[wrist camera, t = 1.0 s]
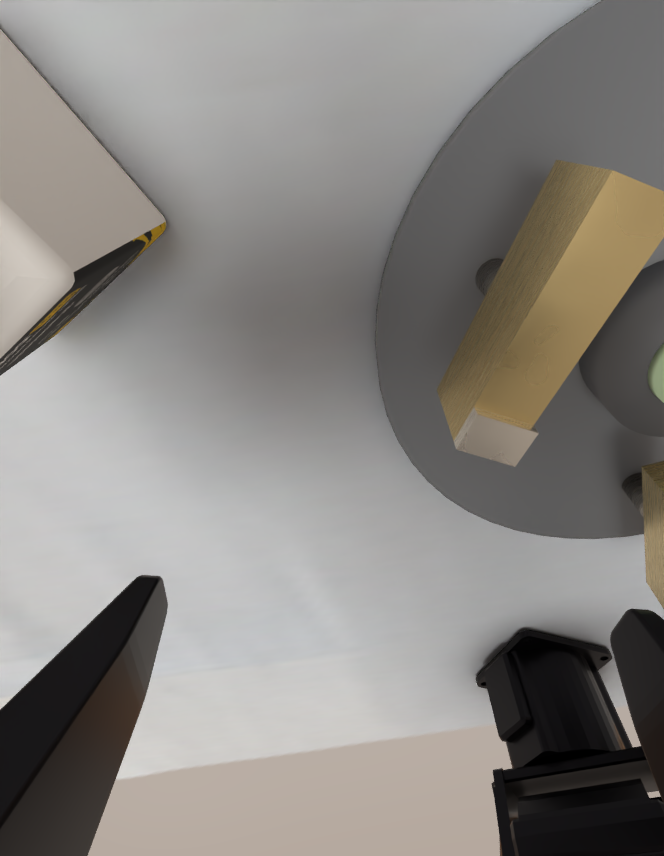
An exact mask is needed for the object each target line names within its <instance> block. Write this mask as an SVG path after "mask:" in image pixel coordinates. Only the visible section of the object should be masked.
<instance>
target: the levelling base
mask: <svg viewBox="0 0 664 856" xmlns="http://www.w3.org/2000/svg"><path fill="white" fill-rule="evenodd" d="M556 160H561V161H566V162H572V163H577V164H582V165H588V166H593V167H599V168H604V169H609V170H614V171H616V172H619V173H621V174H623V175H626V176H628V177H631V178H633V179H635V180H638V181H640V182H643V183H645V184H647V185H650V186H652V187H655V188H657V189H659V190H662V191H664V0H602V1H600V2H599V3H597V4H596V5H594V6H593V7H591V8H590V9H588V10H587V11H585V12H584V13H582V14H581V15H579V16H578V17H576V18H575V19H573V20H572V21H570V22H569V23H567V24H566V25H564V26H563V27H561V28H560V29H558V30H557V31H555V32H554V33H552V34H551V35H550V36H549V37H547V38H546V39H545V40H544V41H543V42H542V43H540V44H539V45H538V46H537V47H536V48H535V49H533V50H532V51H531V52H530V53H529V54H527V55H526V56H525V57H524V58H523V59H522V60H520V61H519V62H518V63H517V64H516V65H514V66H513V67H512V68H511V69H510V70H509V71H507V72H506V73H505V75H504V76H503V77H502V78H501V79H500V80H499V81H498V82H497V83H496V84H495V85H494V86H493V87H492V88H491V89H490V90H489V91H488V93H487V94H486V95H485V96H484V97H483V98H482V99H481V100H480V101H479V102H478V103H477V104H476V105H475V106H474V107H473V108H472V109H471V110H470V112H469V113H468V114H467V115H466V117H465V118H464V119H463V121H462V122H461V123H460V125H459V126H458V127H457V129H456V130H455V131H454V133H453V134H452V135H451V137H450V138H449V139H448V141H447V142H446V143H445V144H444V146H443V147H442V148H441V150H440V151H439V152H438V154H437V156H436V157H435V159H434V161H433V162H432V164H431V166H430V167H429V169H428V171H427V172H426V174H425V176H424V177H423V179H422V181H421V182H420V184H419V186H418V187H417V189H416V191H415V192H414V194H413V196H412V198H411V201H410V203H409V205H408V207H407V210H406V212H405V214H404V216H403V219H402V221H401V223H400V225H399V227H398V230H397V232H396V234H395V237H394V240H393V243H392V247H391V250H390V253H389V256H388V259H387V263H386V266H385V269H384V272H383V277H382V283H381V288H380V294H379V299H378V305H377V315H376V338H375V345H376V355H377V365H378V375H379V383H380V389H381V393H382V397H383V401H384V405H385V409H386V413H387V416H388V418H389V421H390V423H391V426H392V428H393V430H394V433H395V435H396V437H397V440H398V441H399V443H400V445H401V446H402V448H403V449H404V451H405V453H406V454H407V456H408V458H409V459H410V461H411V462H412V464H413V465H414V466H415V467H416V468H417V469H418V470H419V472H420V473H421V474H422V475H423V476H424V477H425V479H426V480H427V481H428V482H429V483H430V484H431V485H433V486H434V487H435V488H436V489H437V490H438V491H440V492H441V493H442V494H443V495H444V496H445V497H447V498H448V499H450V500H451V501H453V502H454V503H456V504H457V505H459V506H460V507H462V508H464V509H465V510H467V511H468V512H471V513H473V514H475V515H477V516H479V517H481V518H483V519H485V520H488V521H490V522H492V523H495V524H498V525H501V526H504V527H507V528H510V529H513V530H517V531H522V532H527V533H531V534H536V535H541V536H550V537H559V538H575V539H600V538H614V537H627V536H633V535H639V534H644V518H643V516H642V515H641V514H640V512H639V511H638V510H637V508H636V507H635V506H634V504H633V503H632V502H631V500H630V499H629V498H628V496H627V495H626V494H625V492H624V491H623V490H622V483H623V481H624V480H625V479H626V478H627V477H629V476H630V475H633V474H636V473H642V470H641V466H644V465H648V464H652V463H656V462H660V461H664V238H663V239H662V241H661V242H660V243H659V245H658V246H657V248H656V249H655V251H654V252H653V254H652V255H651V256H650V258H649V259H648V261H647V262H646V264H645V265H644V267H643V268H642V269H641V271H640V272H639V274H638V275H637V277H636V278H635V280H634V281H633V282H632V284H631V285H630V287H629V288H628V290H627V291H626V293H625V294H624V295H623V297H622V298H621V300H620V301H619V303H618V304H617V306H616V307H615V308H614V310H613V311H612V313H611V314H610V316H609V317H608V319H607V320H606V321H605V323H604V324H603V326H602V327H601V329H600V330H599V332H598V333H597V335H596V336H595V337H594V339H593V340H592V342H591V343H590V345H589V346H588V348H587V349H586V350H585V352H584V353H583V355H582V356H581V358H580V359H579V361H578V362H577V363H576V365H575V366H574V368H573V369H572V371H571V372H570V374H569V375H568V376H567V378H566V379H565V381H564V382H563V384H562V385H561V387H560V388H559V389H558V391H557V392H556V394H555V395H554V397H553V398H552V400H551V401H550V402H549V404H548V405H547V407H546V408H545V410H544V411H543V413H542V414H541V415H540V417H539V418H538V420H537V421H536V423H535V424H534V426H535V428H536V430H537V431H538V433H539V434H538V435H537V437H536V438H535V440H534V441H533V442H532V444H531V445H530V447H529V448H528V449H527V451H526V452H525V454H524V455H523V456H522V458H521V459H520V461H519V462H518V464H517V465H516V466H515V467H514V466H510V465H507V464H504V463H500V462H497V461H493V460H490V459H486V458H483V457H480V456H476V455H473V454H469V453H466V452H463V451H459V450H456V447H455V444H454V441H453V438H452V435H451V432H450V429H449V426H448V422H447V419H446V416H445V413H444V410H443V407H442V404H441V401H440V398H439V395H438V392H437V388H438V386H439V384H440V382H441V380H442V378H443V376H444V374H445V372H446V370H447V368H448V366H449V365H450V363H451V361H452V359H453V357H454V355H455V353H456V351H457V349H458V347H459V345H460V343H461V341H462V340H463V338H464V336H465V334H466V332H467V330H468V328H469V326H470V324H471V322H472V320H473V318H474V316H475V315H476V313H477V311H478V309H479V307H480V305H481V303H482V301H483V299H484V297H485V296H484V295H483V294H482V292H481V291H480V290H479V289H478V287H477V285H476V281H475V277H476V273H477V271H478V269H479V267H480V266H481V265H482V264H483V263H484V262H486V261H488V260H490V259H494V258H500V259H503V260H504V259H505V257H506V255H507V253H508V251H509V249H510V247H511V245H512V243H513V242H514V240H515V238H516V236H517V234H518V232H519V230H520V228H521V226H522V224H523V222H524V220H525V219H526V217H527V215H528V213H529V211H530V209H531V207H532V205H533V203H534V201H535V199H536V197H537V195H538V194H539V192H540V190H541V188H542V186H543V184H544V182H545V180H546V178H547V176H548V174H549V172H550V170H551V169H552V167H553V165H554V163H555V161H556Z"/></svg>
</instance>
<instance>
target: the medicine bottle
mask: <svg viewBox="0 0 664 856" xmlns="http://www.w3.org/2000/svg"><path fill="white" fill-rule="evenodd" d="M165 229H166V220H165V218H164V216H163V215H162V214H161V213H160V212H159V211H158V209H157V208H156V207H155V206H154V205H153V204H152V203H151V201H150V200H149V199H148V198H147V197H146V196H145V195H144V193H143V192H142V191H141V190H140V189H139V188H138V186H137V185H136V184H135V183H134V182H133V181H132V180H131V178H130V177H129V176H128V175H127V174H126V173H125V172H124V170H123V169H122V168H121V167H120V166H119V165H118V163H117V162H116V161H115V160H114V159H113V158H112V157H111V155H110V154H109V153H108V152H107V151H106V150H105V149H104V147H103V146H102V145H101V144H100V143H99V142H98V141H97V139H96V138H95V137H94V136H93V135H92V134H91V132H90V131H89V130H88V129H87V128H86V127H85V126H84V124H83V123H82V122H81V121H80V120H79V119H78V118H77V116H76V115H75V114H74V113H73V112H72V111H71V109H70V108H69V107H68V106H67V105H66V104H65V103H64V101H63V100H62V99H61V98H60V97H59V96H58V95H57V93H56V92H55V91H54V90H53V89H52V88H51V87H50V85H49V84H48V83H47V82H46V81H45V80H44V78H43V77H42V76H41V75H40V74H39V73H38V72H37V70H36V69H35V68H34V67H33V66H32V65H31V64H30V62H29V61H28V60H27V59H26V58H25V57H24V55H23V54H22V53H21V52H20V51H19V50H18V49H17V47H16V46H15V45H14V44H13V43H12V42H11V41H10V39H9V38H8V37H7V36H6V35H5V34H4V33H3V31H2V30H1V29H0V375H2V374H3V373H4V372H6V371H7V370H9V369H10V368H11V367H13V366H14V365H15V364H17V363H18V362H19V361H21V360H22V359H24V358H25V357H26V356H28V355H29V354H30V353H32V352H33V351H35V350H36V349H37V348H39V347H40V346H41V345H43V344H44V343H46V342H47V341H48V340H50V339H51V338H52V337H54V336H55V335H56V334H57V333H59V332H60V331H61V330H62V329H63V328H64V327H65V326H66V325H67V324H68V323H69V322H70V321H71V320H72V319H73V318H74V317H75V316H76V315H77V314H78V313H79V312H81V311H82V310H83V309H84V308H85V307H86V306H87V305H88V304H89V303H90V302H91V301H92V300H93V299H94V298H95V297H96V296H97V295H98V294H99V293H100V292H101V291H103V290H104V289H105V288H106V287H107V286H108V285H109V284H110V283H111V282H112V281H113V280H114V279H115V278H116V277H117V276H118V275H119V274H120V273H121V272H122V271H123V270H125V269H126V268H127V267H128V266H129V265H130V264H131V263H132V262H133V261H134V260H135V259H136V258H137V257H138V256H139V255H140V254H141V253H142V252H143V251H144V250H145V249H147V248H148V247H149V246H150V245H151V244H152V243H153V242H154V241H155V240H156V239H157V238H158V237H159V236H160V235H161V234H162V233H163V232H164V230H165Z"/></svg>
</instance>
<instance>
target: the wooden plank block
mask: <svg viewBox="0 0 664 856" xmlns="http://www.w3.org/2000/svg"><path fill="white" fill-rule="evenodd" d="M663 238H664V191H662V190H659V189H657V188H655V187H652V186H650V185H647V184H645V183H643V182H640V181H638V180H635V179H633V178H631V177H628V176H626V175H623V174H621V173H619V172H616V171H614V170H609V169H604V168H599V167H593V166H588V165H582V164H577V163H572V162H566V161H561V160H556V161H555V163H554V165H553V167H552V169H551V170H550V172H549V174H548V176H547V178H546V180H545V182H544V184H543V186H542V188H541V190H540V192H539V194H538V195H537V197H536V199H535V201H534V203H533V205H532V207H531V209H530V211H529V213H528V215H527V217H526V219H525V220H524V222H523V224H522V226H521V228H520V230H519V232H518V234H517V236H516V238H515V240H514V242H513V243H512V245H511V247H510V249H509V251H508V253H507V255H506V257H505V259H504V260H503V259H500V258H494V259H490V260H488V261H486V262H484V263H483V264H482V265H481V266H480V267H479V269H478V271H477V273H476V277H475V281H476V285H477V287H478V289H479V290H480V291H481V292H482V294H483V295H484V296H485V297H484V299H483V301H482V303H481V305H480V307H479V309H478V311H477V313H476V315H475V316H474V318H473V320H472V322H471V324H470V326H469V328H468V330H467V332H466V334H465V336H464V338H463V340H462V341H461V343H460V345H459V347H458V349H457V351H456V353H455V355H454V357H453V359H452V361H451V363H450V365H449V366H448V368H447V370H446V372H445V374H444V376H443V378H442V380H441V382H440V384H439V386H438V388H437V392H438V395H439V398H440V401H441V404H442V407H443V410H444V413H445V416H446V419H447V422H448V426H449V429H450V432H451V435H452V438H453V441H454V444H455V447H456V450H459V451H463V452H466V453H469V454H473V455H476V456H480V457H483V458H486V459H490V460H493V461H497V462H500V463H504V464H507V465H510V466H514V467H515V466H516V465H517V464H518V462H519V461H520V459H521V458H522V456H523V455H524V454H525V452H526V451H527V449H528V448H529V447H530V445H531V444H532V442H533V441H534V440H535V438H536V437H537V435H538V434H539V433H538V431H537V430H536V428H535V426H534V424H535V423H536V421H537V420H538V418H539V417H540V415H541V414H542V413H543V411H544V410H545V408H546V407H547V405H548V404H549V402H550V401H551V400H552V398H553V397H554V395H555V394H556V392H557V391H558V389H559V388H560V387H561V385H562V384H563V382H564V381H565V379H566V378H567V376H568V375H569V374H570V372H571V371H572V369H573V368H574V366H575V365H576V363H577V362H578V361H579V359H580V358H581V356H582V355H583V353H584V352H585V350H586V349H587V348H588V346H589V345H590V343H591V342H592V340H593V339H594V337H595V336H596V335H597V333H598V332H599V330H600V329H601V327H602V326H603V324H604V323H605V321H606V320H607V319H608V317H609V316H610V314H611V313H612V311H613V310H614V308H615V307H616V306H617V304H618V303H619V301H620V300H621V298H622V297H623V295H624V294H625V293H626V291H627V290H628V288H629V287H630V285H631V284H632V282H633V281H634V280H635V278H636V277H637V275H638V274H639V272H640V271H641V269H642V268H643V267H644V265H645V264H646V262H647V261H648V259H649V258H650V256H651V255H652V254H653V252H654V251H655V249H656V248H657V246H658V245H659V243H660V242H661V241H662V239H663Z"/></svg>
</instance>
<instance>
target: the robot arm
mask: <svg viewBox="0 0 664 856" xmlns="http://www.w3.org/2000/svg"><path fill="white" fill-rule="evenodd" d="M167 607H168V603H167V597H166V592H165V588H164V583H163V580H162V578H161V577H160V576H151V575H141V576H139V577H137V578H136V579H135V580H134V581H132V582H131V583H130V584H129V585H128V586H127V587H126V588H125V589H124V590H123V591H122V592H121V593H120V594H119V595H118V596H117V597H116V598H115V599H114V600H113V601H112V602H111V603H110V604H109V605H108V606H107V607H106V608H105V609H104V610H103V611H102V612H101V613H100V614H98V615H97V616H96V617H95V618H94V619H93V620H92V621H91V622H90V623H89V624H88V625H87V626H86V627H85V628H84V629H83V630H82V631H81V632H80V633H79V634H78V635H77V636H76V637H75V638H74V639H73V640H72V641H71V642H70V643H69V644H68V645H67V646H66V647H64V648H63V649H62V650H61V651H60V652H59V653H58V654H57V655H56V656H55V657H54V658H53V659H52V660H51V661H50V662H49V663H48V664H47V665H46V666H45V667H44V668H43V669H42V670H41V671H40V672H39V673H38V674H37V675H36V676H35V677H34V678H33V679H31V680H30V681H29V682H28V683H27V684H26V685H25V686H24V687H23V688H22V689H21V690H20V691H19V692H18V693H17V694H16V695H15V696H14V697H13V698H12V699H11V700H10V701H9V702H8V703H7V704H6V705H5V706H4V707H3V708H2V709H1V710H0V856H87V855H88V852H89V850H90V847H91V845H92V842H93V839H94V836H95V834H96V831H97V828H98V825H99V823H100V820H101V817H102V814H103V812H104V809H105V806H106V804H107V801H108V798H109V796H110V793H111V790H112V787H113V784H114V782H115V779H116V776H117V774H118V771H119V768H120V766H121V763H122V760H123V757H124V755H125V752H126V749H127V746H128V744H129V741H130V738H131V736H132V733H133V730H134V727H135V725H136V722H137V719H138V716H139V714H140V711H141V708H142V705H143V702H144V699H145V696H146V693H147V689H148V685H149V682H150V678H151V674H152V670H153V666H154V662H155V658H156V654H157V650H158V646H159V642H160V638H161V634H162V630H163V626H164V622H165V618H166V614H167ZM610 641H611V647H612V651H613V654H614V658H615V661H616V665H617V668H618V672H619V675H620V679H621V682H622V686H623V689H624V693H625V697H626V700H627V704H628V707H629V711H630V714H631V717H632V720H633V723H634V727H635V730H636V732H637V735H638V738H639V741H640V743H641V746H639V747H634V748H633V747H632V745H631V743H630V740H629V738H628V736H627V734H626V732H625V729H624V727H623V725H622V723H621V720H620V718H619V716H618V714H617V712H616V709H615V707H614V705H613V703H612V701H611V698H610V696H609V694H608V692H607V690H606V687H605V685H604V683H603V681H602V679H601V676H600V674H599V672H598V670H599V669H600V668H602V667H603V666H604V665H605V664H607V663H608V662H609V661H610V660H611V659H612V655H611V653H610V651H609V649H606V648H603V647H598V646H594V645H590V644H585V643H581V642H577V641H573V640H568V639H564V638H560V637H556V636H551V635H547V634H543V633H539V632H534V631H530V630H525V631H521V632H520V633H518V634H517V635H516V636H515V637H514V639H513V640H512V641H511V642H510V643H509V644H508V645H507V646H506V647H505V648H504V649H503V650H502V651H501V652H500V653H499V654H498V655H497V656H496V657H495V658H494V659H493V660H492V661H491V662H490V663H489V664H488V665H487V666H486V667H485V668H484V669H483V671H482V672H481V673H480V674H479V675H478V676H477V677H476V681H477V686H479V687H481V688H486V689H488V693H489V697H490V701H491V705H492V710H493V714H494V718H495V722H496V726H497V730H498V734H499V737H500V739H501V740H502V741H505V742H506V744H507V748H508V752H509V756H510V760H511V764H512V769H507V770H503V769H502V768H501V769H495V770H493V775H494V782H493V783H492V788H493V793H494V797H495V805H496V812H497V820H498V827H499V834H500V856H664V620H663V619H662V618H661V617H660V616H659V615H657V614H656V613H654V612H652V611H650V610H641V609H630V610H627V611H626V612H625V614H624V615H623V616H622V618H621V619H620V621H619V622H618V623H617V625H616V626H615V628H614V629H613V630H612V632H611V637H610ZM653 791H659V793H660V795H661V797H655V798H649V797H648V794H647V792H653Z"/></svg>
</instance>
